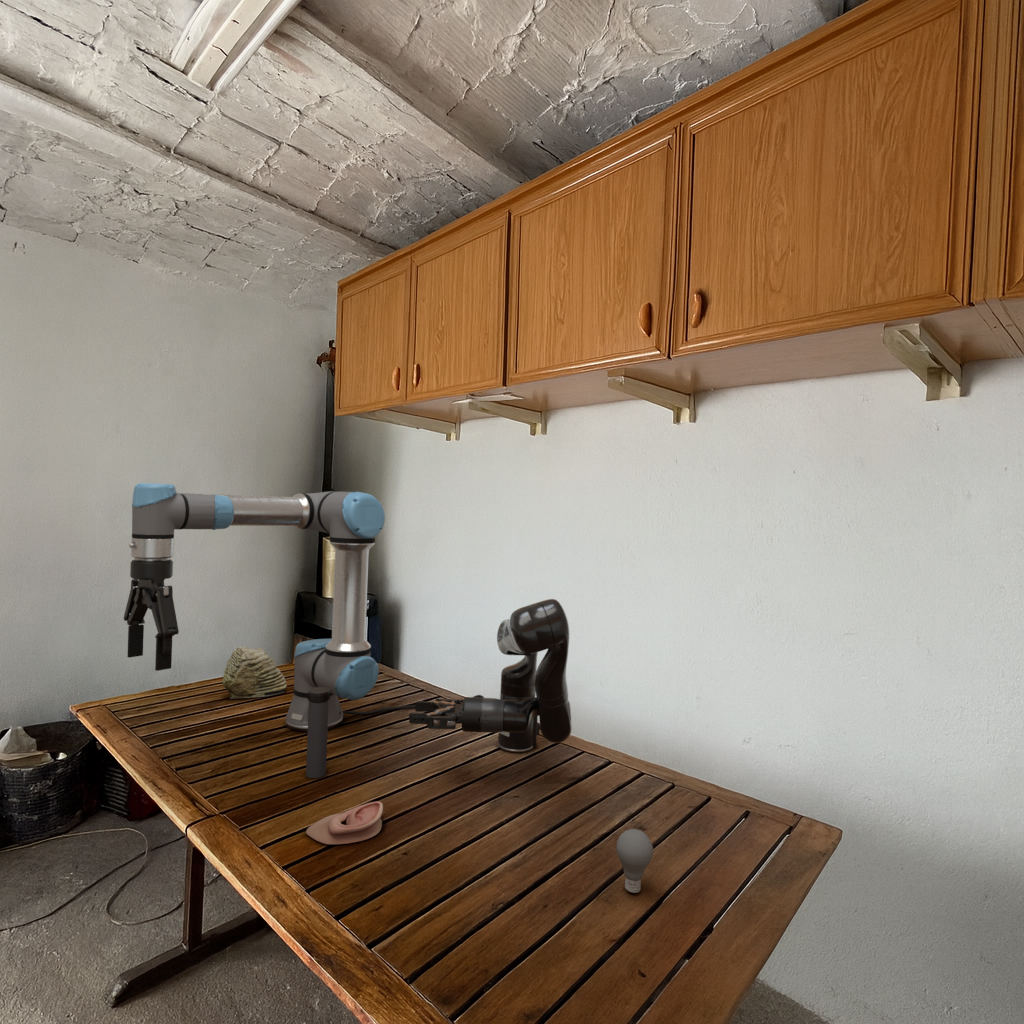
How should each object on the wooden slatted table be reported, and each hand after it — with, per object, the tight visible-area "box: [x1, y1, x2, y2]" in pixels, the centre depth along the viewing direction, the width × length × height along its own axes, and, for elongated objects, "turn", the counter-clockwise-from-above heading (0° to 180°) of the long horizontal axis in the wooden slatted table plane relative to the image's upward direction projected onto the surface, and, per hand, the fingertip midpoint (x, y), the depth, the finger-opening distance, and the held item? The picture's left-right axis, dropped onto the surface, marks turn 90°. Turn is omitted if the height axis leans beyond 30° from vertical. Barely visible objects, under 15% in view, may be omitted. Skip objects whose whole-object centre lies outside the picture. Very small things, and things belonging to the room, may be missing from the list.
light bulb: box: [615, 828, 654, 894], centre depth 106 cm, size 6×6×10 cm
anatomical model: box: [305, 800, 384, 846], centre depth 121 cm, size 13×4×12 cm
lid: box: [308, 687, 330, 702], centre depth 144 cm, size 5×5×2 cm
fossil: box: [222, 646, 288, 699], centre depth 198 cm, size 9×18×15 cm, turn 132°
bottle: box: [305, 700, 329, 779], centre depth 144 cm, size 4×4×19 cm
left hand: (148, 662), depth 129 cm, fingers open, 13 cm apart
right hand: (412, 711), depth 144 cm, fingers open, 8 cm apart
